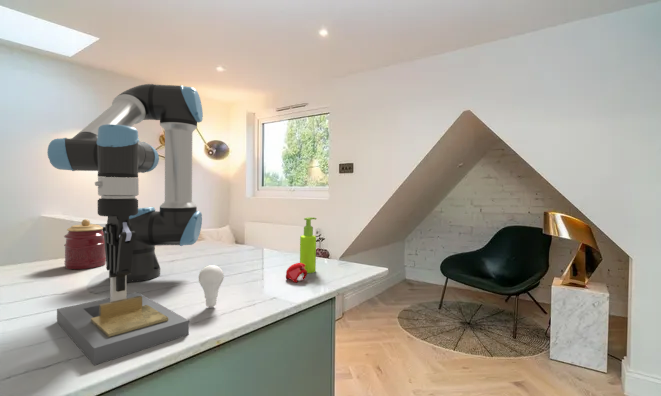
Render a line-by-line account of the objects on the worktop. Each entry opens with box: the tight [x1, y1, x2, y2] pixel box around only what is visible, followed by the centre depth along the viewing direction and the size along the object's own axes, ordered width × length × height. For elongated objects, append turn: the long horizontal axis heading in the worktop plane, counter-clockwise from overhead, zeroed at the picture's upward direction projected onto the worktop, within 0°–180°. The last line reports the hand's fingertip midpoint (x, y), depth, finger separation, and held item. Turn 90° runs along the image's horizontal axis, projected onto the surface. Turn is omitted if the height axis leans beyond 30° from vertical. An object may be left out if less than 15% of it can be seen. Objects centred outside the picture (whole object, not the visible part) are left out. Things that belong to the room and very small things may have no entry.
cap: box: [285, 262, 308, 283], centre depth 115 cm, size 8×6×6 cm
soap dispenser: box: [299, 216, 317, 274], centre depth 128 cm, size 6×7×20 cm
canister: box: [63, 218, 106, 270], centre depth 129 cm, size 13×13×18 cm
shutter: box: [91, 296, 168, 337], centre depth 71 cm, size 11×11×3 cm
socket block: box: [56, 291, 190, 366], centre depth 75 cm, size 28×17×3 cm, turn 49°
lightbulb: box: [198, 264, 225, 309], centre depth 88 cm, size 6×6×11 cm
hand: (118, 304), depth 75 cm, fingers closed
